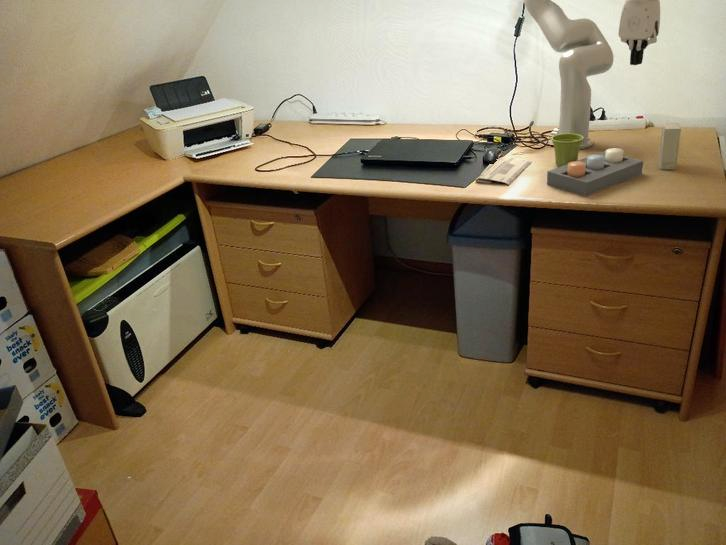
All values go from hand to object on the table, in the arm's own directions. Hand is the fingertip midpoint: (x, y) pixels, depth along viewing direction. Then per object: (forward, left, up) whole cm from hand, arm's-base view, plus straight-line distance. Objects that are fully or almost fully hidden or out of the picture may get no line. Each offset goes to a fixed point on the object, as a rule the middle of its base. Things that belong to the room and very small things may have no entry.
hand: (635, 64), depth 174 cm
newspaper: (-22, -31, -30) cm, 48 cm away
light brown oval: (+3, -26, -27) cm, 37 cm away
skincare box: (+11, +4, -29) cm, 32 cm away
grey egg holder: (+3, -18, -29) cm, 34 cm away
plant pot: (-12, -13, -29) cm, 34 cm away
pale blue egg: (+3, -18, -27) cm, 32 cm away
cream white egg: (+3, -10, -27) cm, 29 cm away
